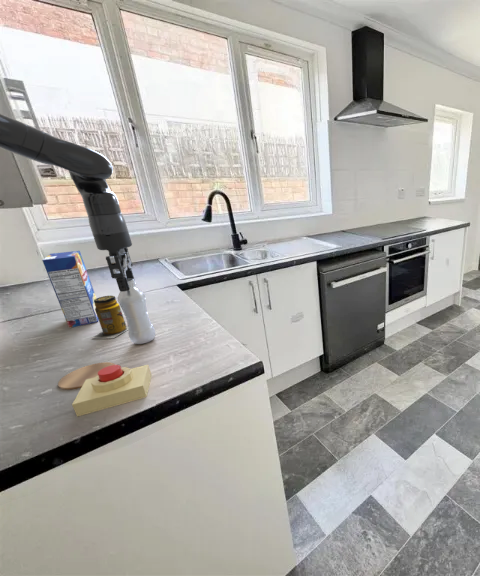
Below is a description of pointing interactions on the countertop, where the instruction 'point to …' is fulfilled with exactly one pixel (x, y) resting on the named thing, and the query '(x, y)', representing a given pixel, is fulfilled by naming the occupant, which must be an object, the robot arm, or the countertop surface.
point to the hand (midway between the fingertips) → (127, 286)
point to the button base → (112, 390)
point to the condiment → (109, 317)
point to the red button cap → (110, 373)
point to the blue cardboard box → (72, 287)
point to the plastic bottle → (136, 314)
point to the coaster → (81, 376)
